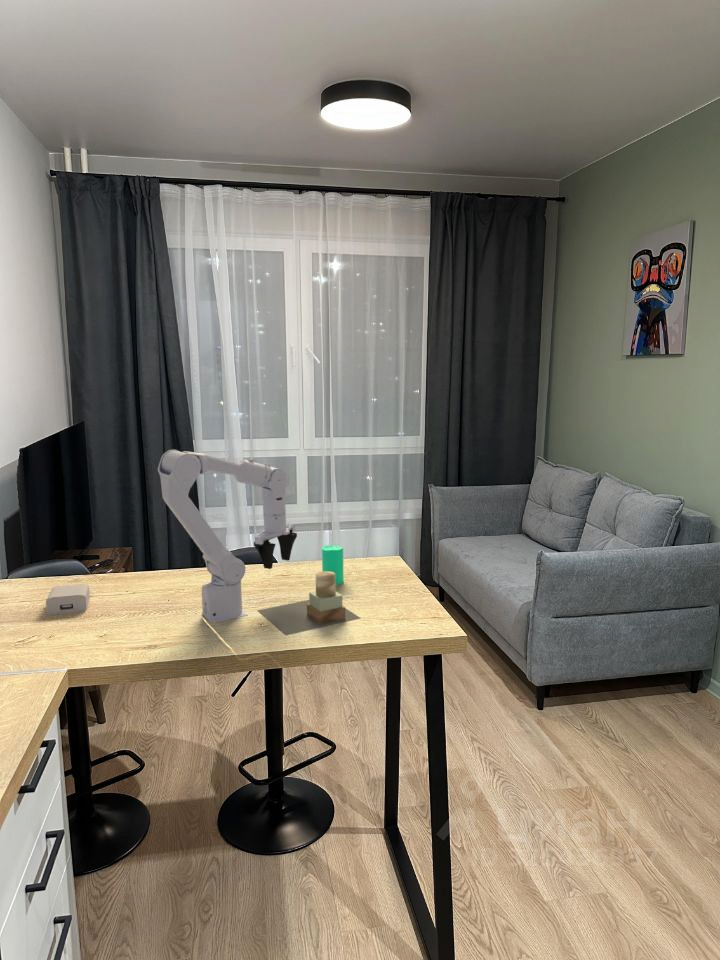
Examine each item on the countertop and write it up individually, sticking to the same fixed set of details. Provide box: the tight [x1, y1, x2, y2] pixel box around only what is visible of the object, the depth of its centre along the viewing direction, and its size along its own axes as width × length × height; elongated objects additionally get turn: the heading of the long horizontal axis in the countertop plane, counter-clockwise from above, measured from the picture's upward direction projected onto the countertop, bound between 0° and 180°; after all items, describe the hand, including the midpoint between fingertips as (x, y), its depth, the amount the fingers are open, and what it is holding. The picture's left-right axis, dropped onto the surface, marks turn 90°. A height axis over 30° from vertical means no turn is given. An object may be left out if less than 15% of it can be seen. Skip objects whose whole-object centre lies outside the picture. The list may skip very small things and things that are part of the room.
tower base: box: [307, 603, 346, 625], centre depth 163 cm, size 7×7×3 cm
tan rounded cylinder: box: [315, 571, 337, 597], centre depth 162 cm, size 5×5×5 cm
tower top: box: [308, 590, 343, 612], centre depth 163 cm, size 6×6×3 cm
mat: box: [256, 599, 361, 636], centre depth 165 cm, size 20×18×1 cm
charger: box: [45, 583, 91, 616], centre depth 175 cm, size 5×9×15 cm
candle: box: [321, 542, 345, 585], centre depth 189 cm, size 6×6×12 cm
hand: (277, 563), depth 174 cm, fingers open, 7 cm apart
